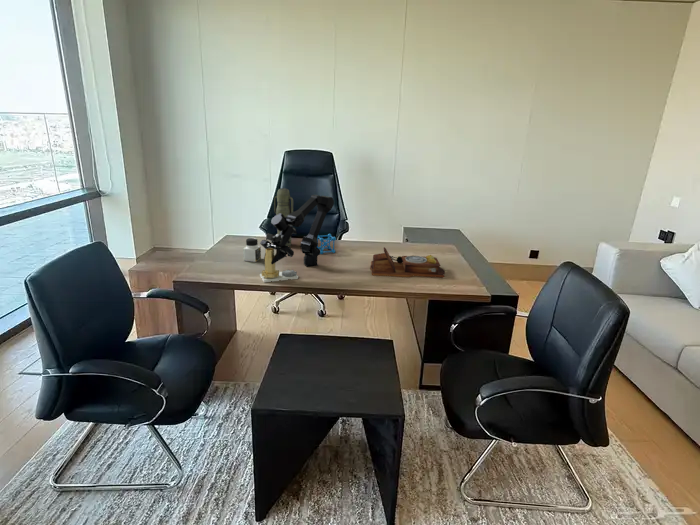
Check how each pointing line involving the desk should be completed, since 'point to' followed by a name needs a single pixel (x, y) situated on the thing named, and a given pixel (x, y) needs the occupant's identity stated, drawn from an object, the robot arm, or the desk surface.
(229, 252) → the desk surface
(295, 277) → the gear board
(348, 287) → the desk surface
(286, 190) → the thermos
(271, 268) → the yellow octagonal tube
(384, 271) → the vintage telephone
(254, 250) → the white pill bottle
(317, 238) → the molecular structure
